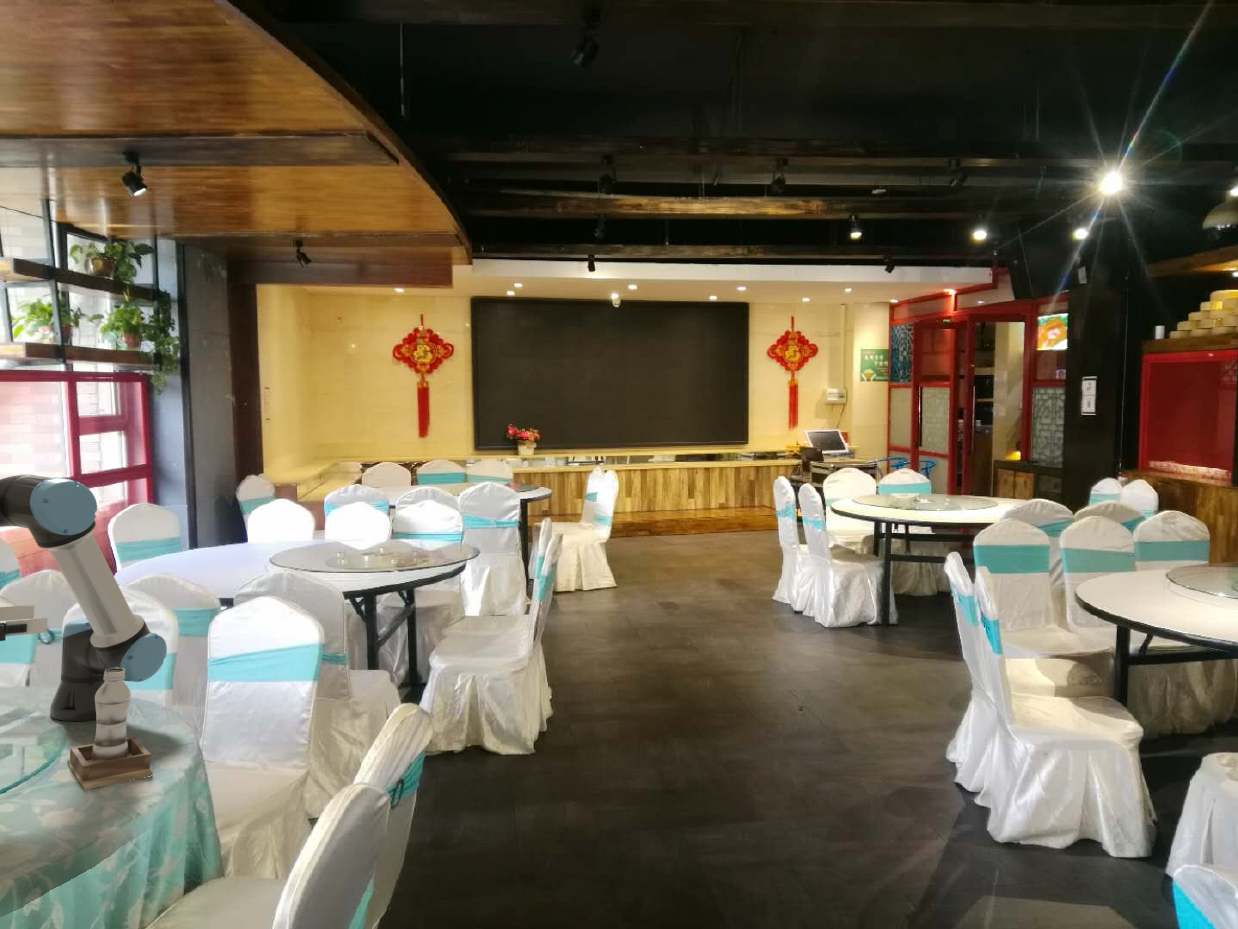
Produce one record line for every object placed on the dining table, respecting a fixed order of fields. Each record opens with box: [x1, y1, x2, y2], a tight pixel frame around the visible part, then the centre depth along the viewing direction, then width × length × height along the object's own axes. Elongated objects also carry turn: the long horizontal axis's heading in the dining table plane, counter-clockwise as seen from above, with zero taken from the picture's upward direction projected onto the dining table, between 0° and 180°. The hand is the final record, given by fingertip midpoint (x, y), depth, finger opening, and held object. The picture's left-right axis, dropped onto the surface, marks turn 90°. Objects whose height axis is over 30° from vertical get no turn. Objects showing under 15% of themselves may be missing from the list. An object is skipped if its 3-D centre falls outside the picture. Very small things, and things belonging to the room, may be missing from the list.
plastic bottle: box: [91, 668, 132, 763], centre depth 174 cm, size 6×7×20 cm
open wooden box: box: [67, 736, 153, 791], centre depth 174 cm, size 16×12×4 cm
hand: (40, 618), depth 168 cm, fingers open, 13 cm apart
